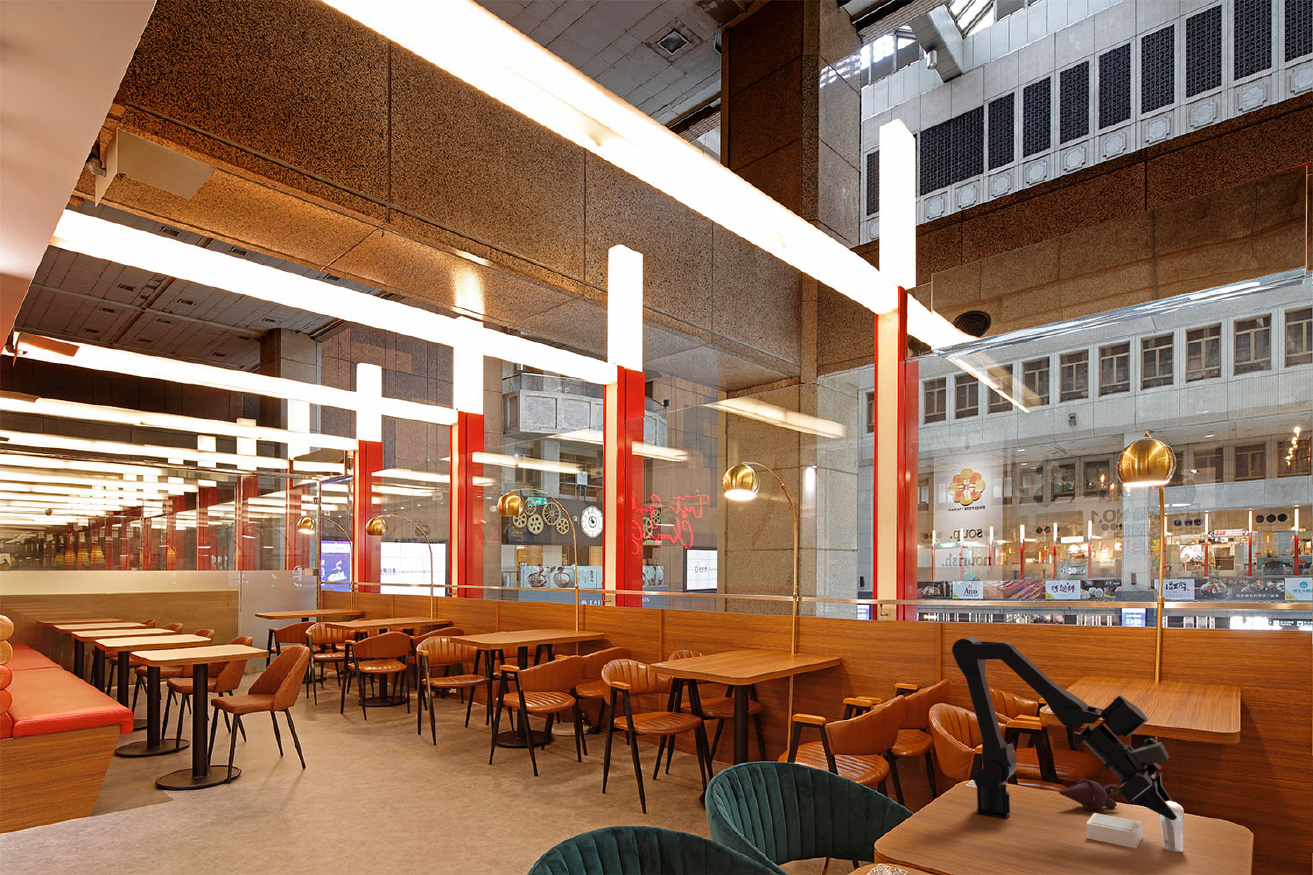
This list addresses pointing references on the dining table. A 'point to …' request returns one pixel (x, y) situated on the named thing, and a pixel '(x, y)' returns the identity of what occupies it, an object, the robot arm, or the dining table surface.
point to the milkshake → (1173, 828)
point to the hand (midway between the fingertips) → (1176, 816)
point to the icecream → (1091, 794)
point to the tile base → (1114, 830)
